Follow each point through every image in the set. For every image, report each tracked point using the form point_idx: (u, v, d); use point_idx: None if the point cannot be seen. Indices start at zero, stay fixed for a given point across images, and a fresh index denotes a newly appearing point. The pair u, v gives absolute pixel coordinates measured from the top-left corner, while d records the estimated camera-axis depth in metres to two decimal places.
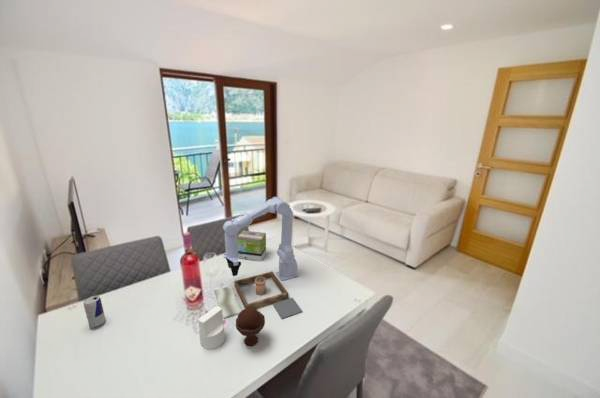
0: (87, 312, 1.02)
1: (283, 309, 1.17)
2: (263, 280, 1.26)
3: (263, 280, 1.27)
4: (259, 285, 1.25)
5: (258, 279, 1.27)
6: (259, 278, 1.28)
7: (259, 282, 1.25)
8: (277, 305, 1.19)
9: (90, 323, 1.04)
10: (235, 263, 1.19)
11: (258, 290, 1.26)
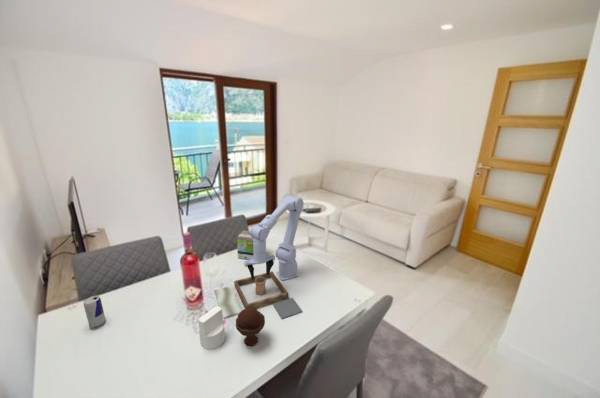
0: (87, 312, 1.02)
1: (283, 309, 1.17)
2: (263, 280, 1.26)
3: (263, 280, 1.27)
4: (259, 285, 1.25)
5: (258, 279, 1.27)
6: (259, 278, 1.28)
7: (259, 282, 1.25)
8: (277, 305, 1.19)
9: (90, 323, 1.04)
10: (244, 263, 1.21)
11: (258, 290, 1.26)
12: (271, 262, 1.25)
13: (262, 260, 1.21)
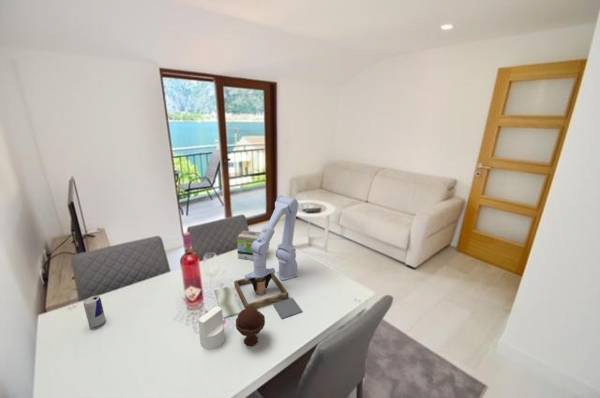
0: (87, 312, 1.02)
1: (283, 309, 1.17)
2: (263, 280, 1.26)
3: (263, 280, 1.27)
4: (259, 285, 1.25)
5: (258, 279, 1.27)
6: (259, 278, 1.28)
7: (259, 282, 1.25)
8: (277, 305, 1.19)
9: (90, 323, 1.04)
10: (245, 277, 1.23)
11: (258, 290, 1.26)
12: (271, 275, 1.27)
13: (262, 274, 1.23)
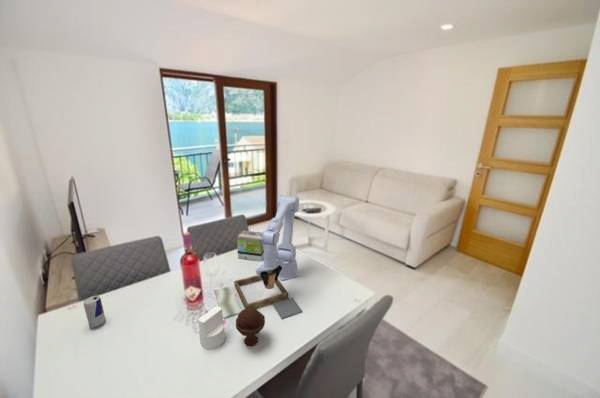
0: (87, 312, 1.02)
1: (283, 309, 1.17)
2: (273, 273, 1.21)
3: (273, 272, 1.21)
4: (270, 278, 1.19)
5: (268, 273, 1.20)
6: (268, 271, 1.22)
7: (271, 275, 1.19)
8: (277, 305, 1.19)
9: (90, 323, 1.04)
10: (256, 271, 1.15)
11: (269, 284, 1.20)
12: (281, 266, 1.22)
13: (274, 265, 1.17)
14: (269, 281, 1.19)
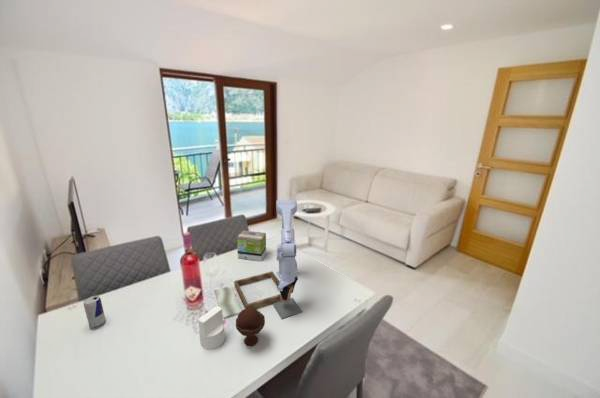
0: (87, 312, 1.02)
1: (283, 309, 1.17)
2: (290, 285, 1.16)
3: (290, 285, 1.16)
4: (289, 292, 1.14)
5: None
6: None
7: None
8: (277, 305, 1.19)
9: (90, 323, 1.04)
10: (279, 288, 1.08)
11: None
12: (296, 277, 1.18)
13: (294, 277, 1.13)
14: (288, 295, 1.14)
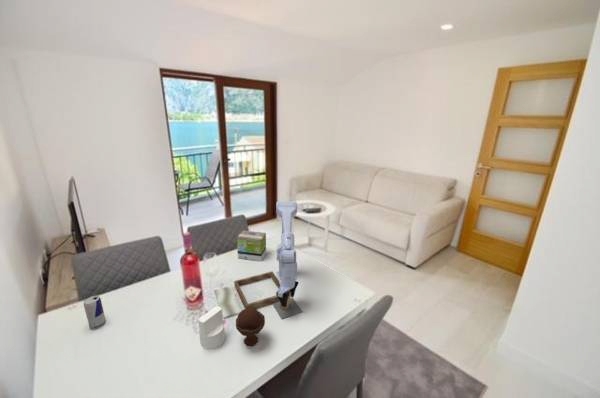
0: (87, 312, 1.02)
1: None
2: (288, 292, 1.17)
3: (288, 292, 1.17)
4: (288, 299, 1.15)
5: None
6: None
7: None
8: (277, 305, 1.19)
9: (90, 323, 1.04)
10: (279, 294, 1.09)
11: None
12: (296, 282, 1.19)
13: (293, 283, 1.14)
14: None
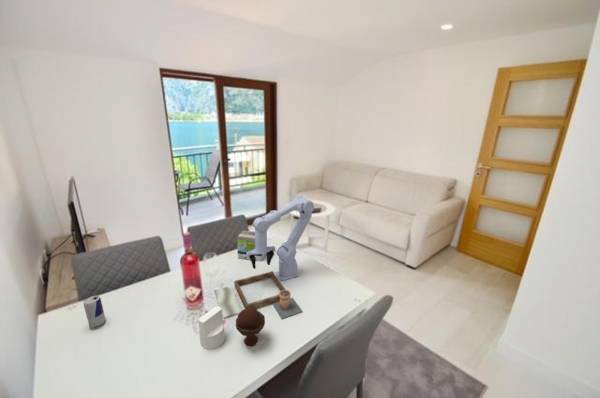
0: (87, 312, 1.02)
1: None
2: (288, 292, 1.17)
3: (287, 292, 1.17)
4: (287, 299, 1.15)
5: (283, 294, 1.16)
6: (282, 292, 1.17)
7: (287, 295, 1.15)
8: (277, 305, 1.19)
9: (90, 323, 1.04)
10: (246, 254, 1.27)
11: (286, 305, 1.16)
12: (272, 253, 1.32)
13: (263, 250, 1.28)
14: (286, 302, 1.15)
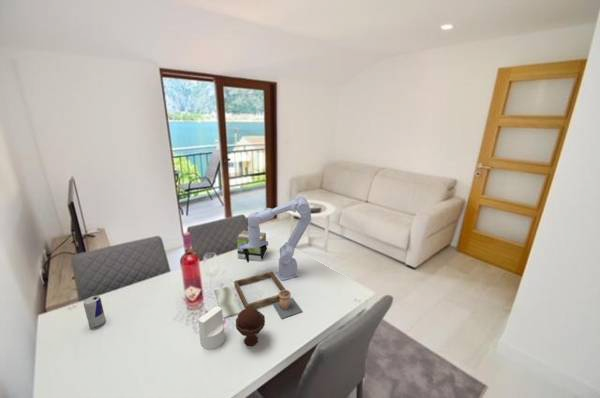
0: (87, 312, 1.02)
1: None
2: (288, 292, 1.17)
3: (287, 292, 1.17)
4: (287, 299, 1.15)
5: (282, 294, 1.16)
6: (282, 292, 1.17)
7: (286, 295, 1.15)
8: (277, 305, 1.19)
9: (90, 323, 1.04)
10: (240, 248, 1.33)
11: (286, 305, 1.16)
12: (265, 247, 1.37)
13: (256, 245, 1.33)
14: (286, 302, 1.15)
